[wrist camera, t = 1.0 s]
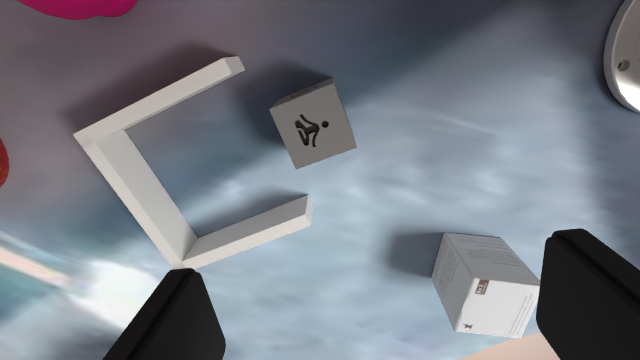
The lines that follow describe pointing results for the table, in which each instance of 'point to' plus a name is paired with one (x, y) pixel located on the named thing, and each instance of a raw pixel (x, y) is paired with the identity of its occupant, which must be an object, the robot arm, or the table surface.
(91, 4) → the pepper mill
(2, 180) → the canned food
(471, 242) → the skincare box
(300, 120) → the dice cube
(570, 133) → the table surface
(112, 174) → the box
